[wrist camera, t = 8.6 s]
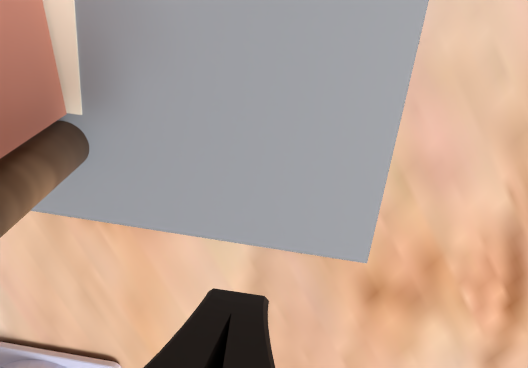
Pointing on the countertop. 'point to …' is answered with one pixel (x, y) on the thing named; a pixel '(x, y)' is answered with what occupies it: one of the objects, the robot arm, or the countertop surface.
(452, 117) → the countertop surface
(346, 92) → the card
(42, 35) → the fence gate
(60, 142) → the fence fixed
